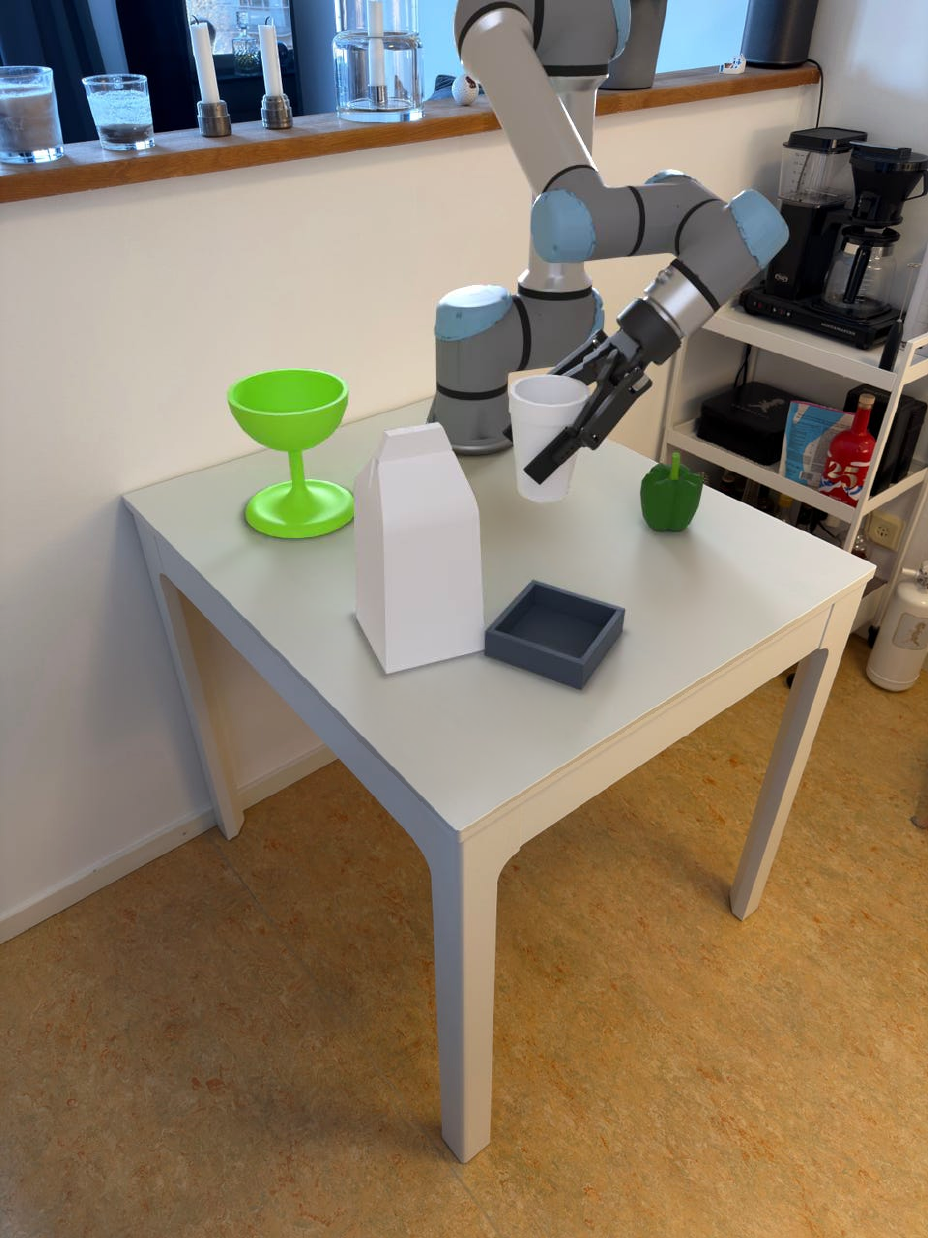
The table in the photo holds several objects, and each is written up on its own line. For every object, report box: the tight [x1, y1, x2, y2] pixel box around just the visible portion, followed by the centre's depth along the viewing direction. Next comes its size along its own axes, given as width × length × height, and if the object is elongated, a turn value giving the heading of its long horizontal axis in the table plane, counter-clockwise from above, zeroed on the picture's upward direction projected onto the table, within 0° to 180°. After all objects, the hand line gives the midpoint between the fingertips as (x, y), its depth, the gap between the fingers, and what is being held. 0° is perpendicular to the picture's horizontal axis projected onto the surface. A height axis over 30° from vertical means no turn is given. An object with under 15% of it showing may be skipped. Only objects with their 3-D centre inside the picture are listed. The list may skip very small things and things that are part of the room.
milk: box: [353, 422, 485, 675], centre depth 98 cm, size 12×12×26 cm
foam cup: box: [508, 373, 591, 503], centre depth 107 cm, size 10×9×13 cm
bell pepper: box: [639, 452, 704, 532], centre depth 124 cm, size 8×8×10 cm
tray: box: [484, 579, 626, 691], centre depth 104 cm, size 12×12×4 cm
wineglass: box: [226, 367, 354, 539], centre depth 124 cm, size 16×16×18 cm
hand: (520, 457), depth 108 cm, fingers closed on foam cup, 9 cm apart
